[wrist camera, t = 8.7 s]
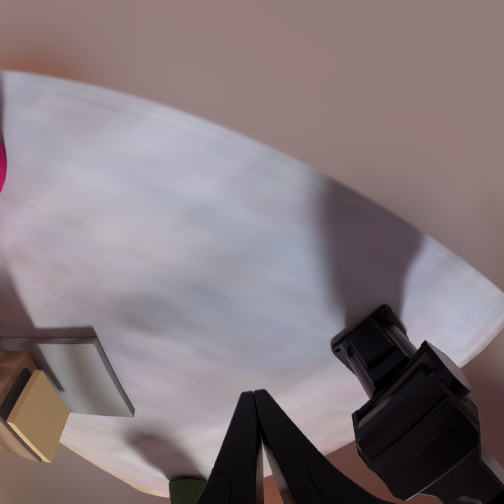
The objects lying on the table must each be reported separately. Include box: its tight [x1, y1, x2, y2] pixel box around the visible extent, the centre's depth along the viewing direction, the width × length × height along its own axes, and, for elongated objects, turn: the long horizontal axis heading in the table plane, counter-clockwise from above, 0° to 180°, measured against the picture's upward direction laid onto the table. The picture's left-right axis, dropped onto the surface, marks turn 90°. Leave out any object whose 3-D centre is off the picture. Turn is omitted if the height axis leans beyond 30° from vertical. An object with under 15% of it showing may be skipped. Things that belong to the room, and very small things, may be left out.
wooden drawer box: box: [0, 337, 135, 463], centre depth 18 cm, size 18×10×9 cm, turn 95°
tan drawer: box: [6, 370, 70, 463], centre depth 16 cm, size 11×6×7 cm, turn 95°
